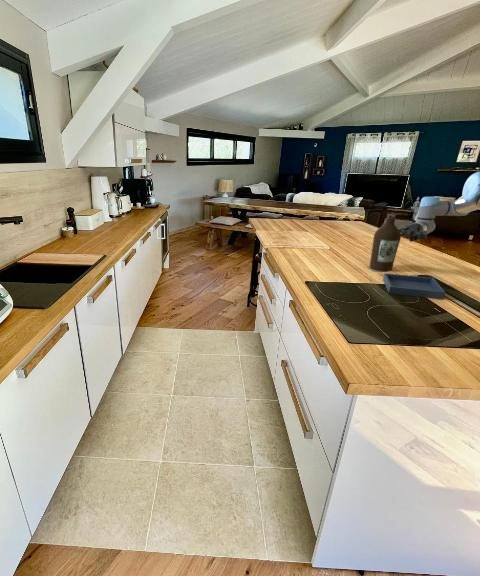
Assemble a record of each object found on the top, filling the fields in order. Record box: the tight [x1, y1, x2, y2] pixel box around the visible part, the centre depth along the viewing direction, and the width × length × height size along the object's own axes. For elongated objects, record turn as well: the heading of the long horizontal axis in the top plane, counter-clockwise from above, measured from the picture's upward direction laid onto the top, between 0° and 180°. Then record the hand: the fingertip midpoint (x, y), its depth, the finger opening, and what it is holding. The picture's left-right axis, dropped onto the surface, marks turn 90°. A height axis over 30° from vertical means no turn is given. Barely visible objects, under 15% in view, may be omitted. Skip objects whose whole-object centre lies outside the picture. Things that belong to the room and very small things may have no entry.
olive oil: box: [369, 214, 402, 272], centre depth 145 cm, size 11×11×25 cm
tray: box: [382, 272, 446, 300], centre depth 125 cm, size 18×17×3 cm
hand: (395, 236), depth 149 cm, fingers open, 13 cm apart
